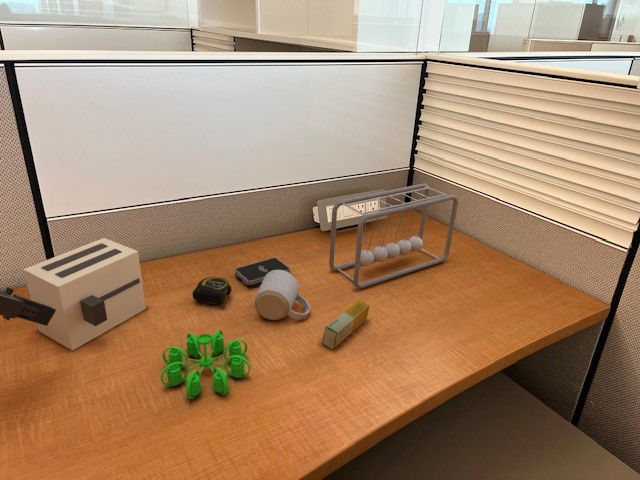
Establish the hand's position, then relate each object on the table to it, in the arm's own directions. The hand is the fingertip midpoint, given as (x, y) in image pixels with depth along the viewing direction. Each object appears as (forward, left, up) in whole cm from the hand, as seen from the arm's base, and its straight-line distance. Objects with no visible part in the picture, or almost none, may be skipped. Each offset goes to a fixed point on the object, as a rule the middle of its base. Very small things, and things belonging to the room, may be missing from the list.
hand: (48, 316), depth 74 cm
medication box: (+34, +36, -11) cm, 51 cm away
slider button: (-1, +8, -6) cm, 10 cm away
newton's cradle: (+30, +66, -11) cm, 73 cm away
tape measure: (+6, +30, -11) cm, 32 cm away
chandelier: (+20, +13, -11) cm, 26 cm away
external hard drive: (+8, +44, -11) cm, 46 cm away
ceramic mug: (+20, +35, -11) cm, 42 cm away
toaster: (-8, +12, -11) cm, 18 cm away
